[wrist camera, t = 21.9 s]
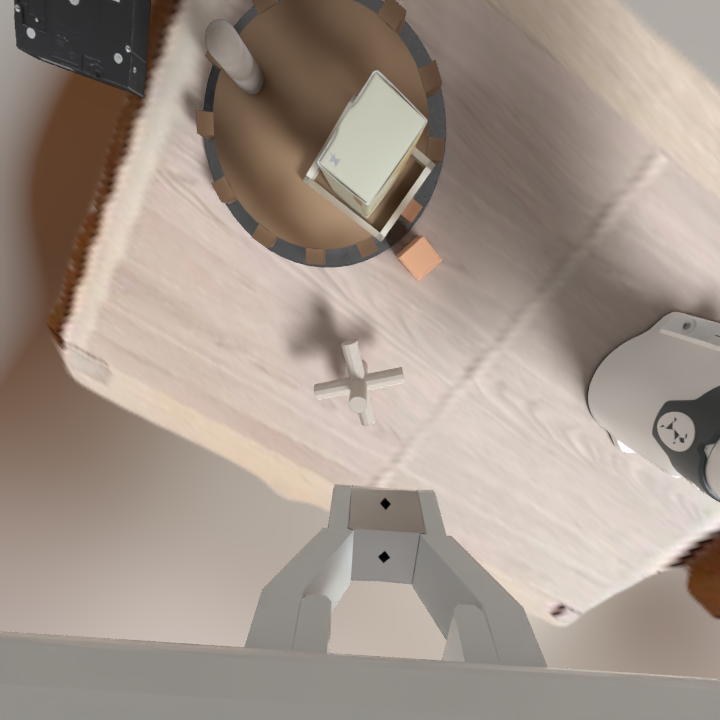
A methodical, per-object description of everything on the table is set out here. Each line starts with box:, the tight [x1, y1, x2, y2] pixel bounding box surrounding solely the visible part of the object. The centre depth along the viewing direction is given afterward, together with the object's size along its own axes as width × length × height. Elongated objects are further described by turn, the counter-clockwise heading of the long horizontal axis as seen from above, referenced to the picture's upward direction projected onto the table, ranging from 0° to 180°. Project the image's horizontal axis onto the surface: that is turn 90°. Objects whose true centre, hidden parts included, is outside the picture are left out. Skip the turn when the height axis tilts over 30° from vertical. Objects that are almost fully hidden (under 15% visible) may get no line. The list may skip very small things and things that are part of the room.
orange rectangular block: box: [396, 236, 442, 281], centre depth 35 cm, size 3×3×5 cm
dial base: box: [204, 0, 446, 267], centre depth 33 cm, size 24×24×1 cm
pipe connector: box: [314, 339, 405, 426], centre depth 37 cm, size 10×10×10 cm
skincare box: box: [317, 70, 427, 219], centre depth 26 cm, size 6×4×12 cm
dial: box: [196, 0, 445, 265], centre depth 29 cm, size 23×23×8 cm
